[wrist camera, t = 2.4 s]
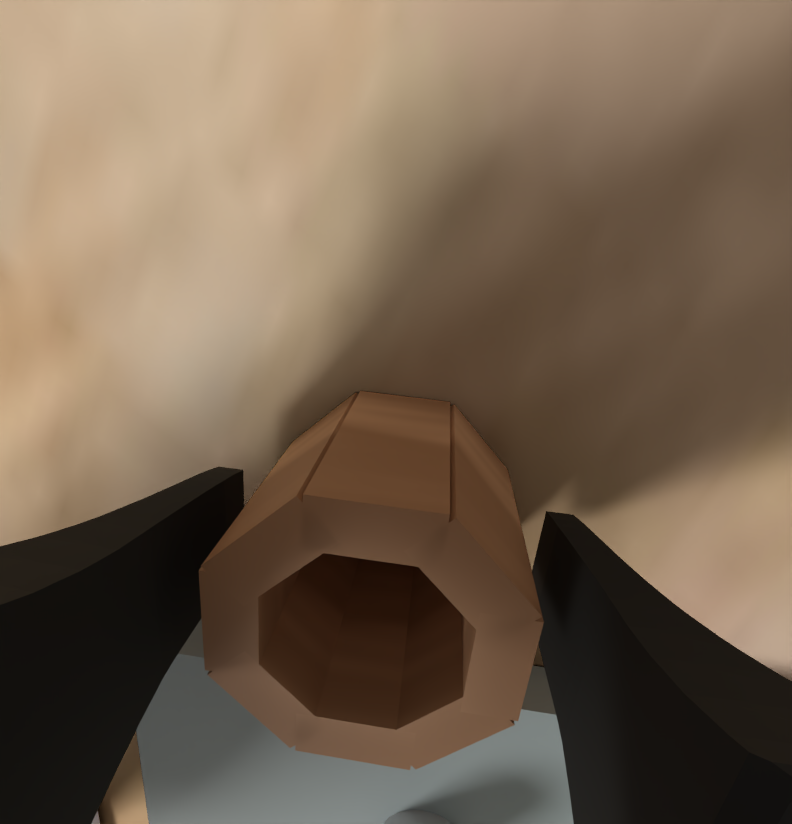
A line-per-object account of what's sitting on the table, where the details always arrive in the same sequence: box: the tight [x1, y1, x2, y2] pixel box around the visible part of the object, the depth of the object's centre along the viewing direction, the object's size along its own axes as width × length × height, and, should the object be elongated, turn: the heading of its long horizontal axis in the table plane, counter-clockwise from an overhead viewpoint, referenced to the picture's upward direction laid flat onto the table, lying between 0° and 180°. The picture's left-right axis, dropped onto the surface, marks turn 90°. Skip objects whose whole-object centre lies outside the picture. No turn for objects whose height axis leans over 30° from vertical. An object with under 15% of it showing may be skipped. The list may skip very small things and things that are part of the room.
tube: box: [199, 391, 544, 770], centre depth 11 cm, size 6×6×5 cm
